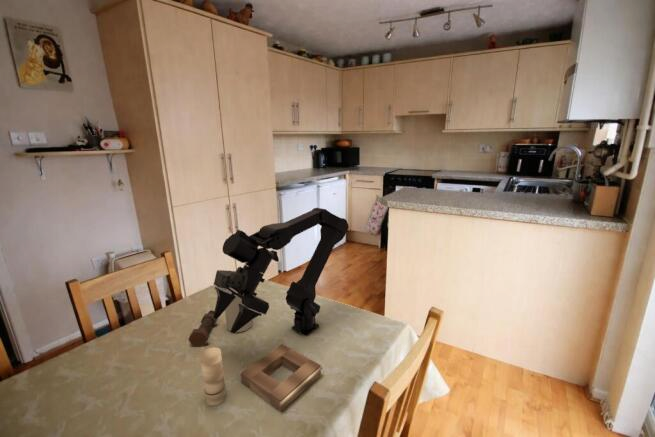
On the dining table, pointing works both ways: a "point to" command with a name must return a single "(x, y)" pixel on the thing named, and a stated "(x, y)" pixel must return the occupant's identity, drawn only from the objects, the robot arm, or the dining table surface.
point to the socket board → (288, 389)
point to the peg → (213, 376)
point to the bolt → (202, 330)
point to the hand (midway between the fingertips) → (223, 325)
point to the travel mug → (235, 314)
